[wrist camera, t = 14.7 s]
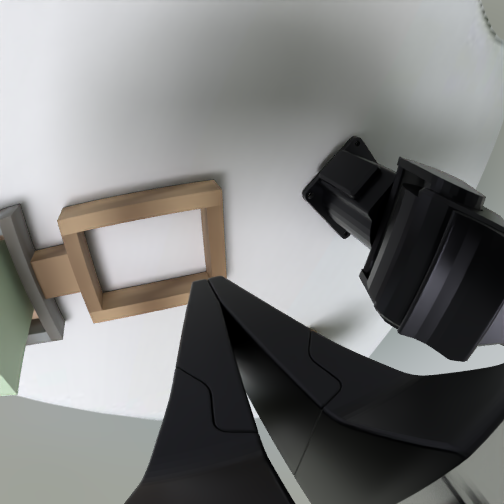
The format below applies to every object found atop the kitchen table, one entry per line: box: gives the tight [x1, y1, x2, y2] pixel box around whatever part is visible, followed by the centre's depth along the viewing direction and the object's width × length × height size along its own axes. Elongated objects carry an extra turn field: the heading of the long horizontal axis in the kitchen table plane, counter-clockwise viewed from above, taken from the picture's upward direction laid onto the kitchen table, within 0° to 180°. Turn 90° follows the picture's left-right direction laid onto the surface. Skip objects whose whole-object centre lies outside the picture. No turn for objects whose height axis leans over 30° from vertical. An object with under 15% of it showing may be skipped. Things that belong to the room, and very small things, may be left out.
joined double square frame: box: [0, 180, 227, 345], centre depth 18 cm, size 21×10×2 cm, turn 89°
